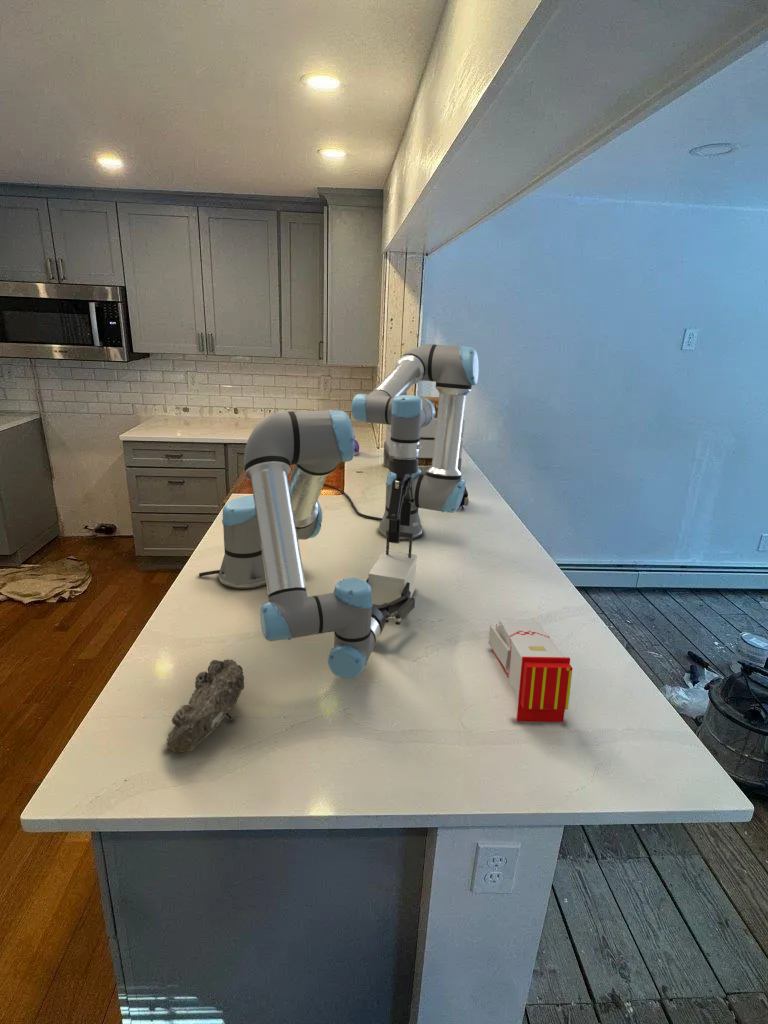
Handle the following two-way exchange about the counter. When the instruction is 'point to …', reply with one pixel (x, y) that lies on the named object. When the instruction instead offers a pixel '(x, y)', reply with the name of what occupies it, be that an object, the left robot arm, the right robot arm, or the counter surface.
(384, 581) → the chest
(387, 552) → the lid
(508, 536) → the counter surface
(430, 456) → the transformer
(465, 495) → the figurine character
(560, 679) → the toy
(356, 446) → the figurine
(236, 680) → the fossil
